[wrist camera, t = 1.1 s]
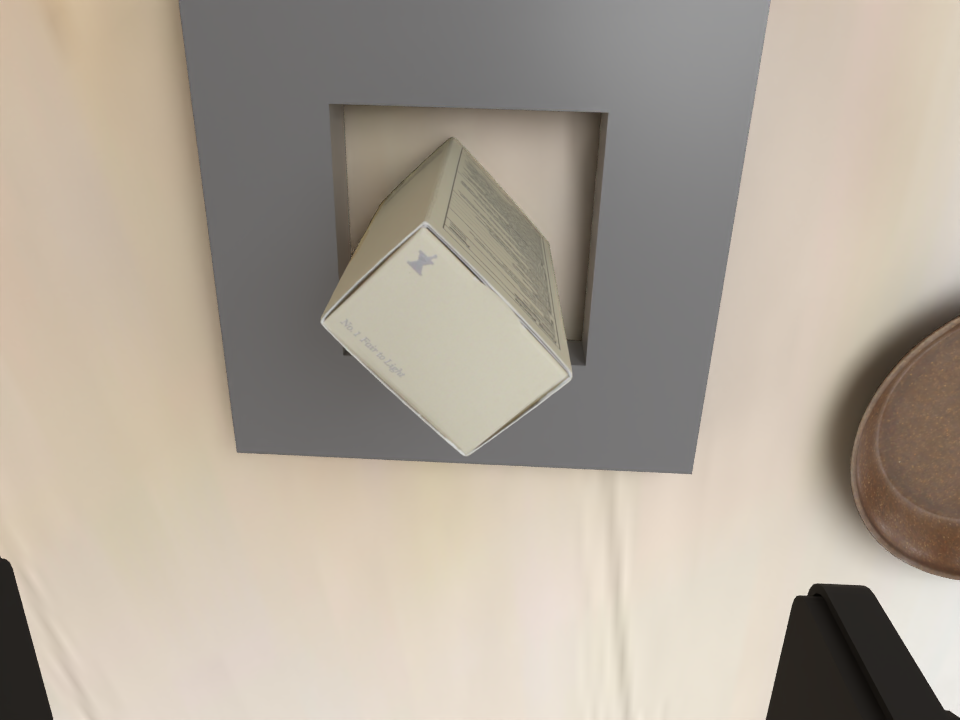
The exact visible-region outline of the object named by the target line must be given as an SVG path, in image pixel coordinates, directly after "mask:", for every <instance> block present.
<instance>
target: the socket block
mask: <svg viewBox="0 0 960 720" xmlns="http://www.w3.org/2000/svg"><path fill="white" fill-rule="evenodd" d="M770 1H771V0H179V8H180V15H181V23H182V31H183V39H184V46H185V54H186V62H187V70H188V77H189V85H190V93H191V101H192V108H193V116H194V124H195V132H196V139H197V147H198V155H199V163H200V170H201V178H202V186H203V194H204V201H205V209H206V217H207V225H208V232H209V240H210V248H211V255H212V263H213V271H214V279H215V286H216V294H217V302H218V310H219V317H220V325H221V333H222V341H223V348H224V356H225V364H226V372H227V379H228V387H229V395H230V403H231V410H232V418H233V426H234V434H235V441H236V449H237V453H257V454H278V455H299V456H320V457H341V458H362V459H384V460H405V461H426V462H447V463H468V464H489V465H510V466H531V467H552V468H574V469H595V470H616V471H637V472H658V473H679V474H692V470H693V464H694V458H695V452H696V446H697V439H698V433H699V427H700V421H701V415H702V409H703V403H704V397H705V391H706V385H707V379H708V373H709V367H710V361H711V355H712V349H713V343H714V337H715V331H716V325H717V319H718V313H719V307H720V301H721V295H722V289H723V283H724V277H725V271H726V265H727V259H728V253H729V247H730V241H731V235H732V229H733V223H734V217H735V211H736V205H737V199H738V193H739V187H740V181H741V175H742V169H743V163H744V157H745V151H746V145H747V139H748V133H749V127H750V121H751V115H752V109H753V103H754V97H755V91H756V85H757V79H758V73H759V67H760V61H761V55H762V49H763V43H764V37H765V31H766V25H767V19H768V13H769V7H770ZM344 104H353V105H384V106H416V107H447V108H479V109H510V110H542V111H573V112H601V124H600V135H599V147H598V158H597V170H596V181H595V193H594V204H593V216H592V227H591V239H590V250H589V262H588V273H587V285H586V296H585V308H584V319H583V331H582V341H575V340H567V346H568V351H569V357H570V362H571V367H572V379H571V380H570V381H569V382H568V383H567V384H566V385H564V386H563V387H562V388H561V389H559V390H558V391H557V392H555V393H554V394H552V395H551V396H550V397H549V398H547V399H546V400H545V401H543V402H542V403H541V404H540V405H538V406H537V407H536V408H534V409H533V410H531V411H530V412H529V413H527V414H526V415H524V416H523V417H522V418H520V419H519V420H518V421H517V422H515V423H514V424H512V425H511V426H510V427H508V428H507V429H505V430H504V431H502V432H501V433H500V434H498V435H497V436H496V437H494V438H493V439H492V440H490V441H489V442H487V443H486V444H484V445H483V446H482V447H480V448H479V449H478V450H476V451H475V452H473V453H472V454H470V455H469V456H463V455H461V454H460V453H459V452H458V451H457V450H456V449H454V448H453V447H452V446H451V445H450V444H448V443H447V442H446V441H445V440H444V439H443V438H442V437H441V436H440V435H438V434H437V433H436V432H435V431H434V430H433V429H432V428H431V427H430V426H428V425H427V424H426V423H425V422H424V421H423V420H422V419H421V418H419V417H418V416H417V415H416V414H415V413H414V412H413V411H412V410H411V409H409V408H408V407H407V406H406V405H405V404H404V403H403V402H402V401H401V400H400V399H399V398H398V397H396V396H395V395H394V394H393V393H392V392H391V391H390V390H388V389H387V388H386V387H385V386H384V385H383V384H382V383H381V382H380V381H379V380H378V379H377V378H376V377H375V376H374V375H372V374H371V373H370V372H369V371H368V370H367V369H366V368H365V367H364V366H363V365H362V364H361V363H360V362H359V361H358V360H357V359H356V358H354V357H353V356H352V355H351V354H350V353H349V352H348V351H347V350H346V349H345V348H344V347H343V346H342V345H341V344H340V343H339V342H338V341H337V340H336V339H335V338H334V337H333V336H332V335H331V334H330V333H329V332H328V331H327V330H326V329H325V328H324V327H323V325H322V324H321V322H320V321H321V316H322V314H323V312H324V310H325V308H326V306H327V304H328V303H329V301H330V299H331V296H332V294H333V292H334V290H335V289H336V287H337V285H338V283H339V281H340V279H341V277H342V275H343V273H344V271H345V269H346V267H347V265H348V264H349V262H350V260H351V245H350V225H349V205H348V185H347V164H346V144H345V124H344Z"/></svg>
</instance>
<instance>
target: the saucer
mask: <svg viewBox="0 0 960 720" xmlns="http://www.w3.org/2000/svg"><path fill="white" fill-rule="evenodd" d="M850 466H851V467H850V475H851V487H852V493H853V496H854V501H855V504H856V507H857V509H858V512H859V514H860V516H861V518H862V520H863V522H864V524H865V525H866V527H867V529H868V530H869V531H870V533H871V534H872V536H873V537H874V538H875V539H876V540H877V541H878V542H879V544H881V545H882V546H883V547H884V548H885V549H886V550H887V551H889V552H890V553H891V554H893V555H894V556H895V557H897V558H898V559H900V560H902V561H903V562H905V563H907V564H909V565H911V566H913V567H916V568H918V569H920V570H922V571H925V572H928V573H930V574H934V575H937V576H941V577H945V578H949V579H955V580H960V316H958V317H956V318H955V319H953V320H951V321H949V322H948V323H946V324H945V325H943V326H941V327H940V328H938V329H937V330H935V331H934V332H932V333H931V334H930V335H928V336H927V337H926V338H924V339H923V340H922V341H920V342H919V343H918V344H917V345H916V346H915V347H914V348H912V349H911V350H910V351H909V352H908V353H907V354H906V355H905V356H904V357H903V358H902V359H901V360H900V361H899V362H898V363H897V364H896V366H895V367H894V368H893V369H892V370H891V372H890V373H889V374H888V375H887V377H886V378H885V379H884V381H883V382H882V383H881V385H880V386H879V388H878V389H877V391H876V392H875V394H874V396H873V397H872V399H871V401H870V403H869V405H868V407H867V409H866V411H865V413H864V415H863V417H862V419H861V422H860V424H859V427H858V430H857V434H856V437H855V440H854V445H853V449H852V455H851V464H850Z"/></svg>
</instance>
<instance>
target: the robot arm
mask: <svg viewBox="0 0 960 720" xmlns="http://www.w3.org/2000/svg"><path fill="white" fill-rule="evenodd" d="M0 720H53V716H52V712H51V709H50V705H49V701H48V698H47V694H46V690H45V687H44V683H43V679H42V676H41V672H40V668H39V664H38V661H37V657H36V653H35V650H34V646H33V642H32V639H31V635H30V631H29V627H28V624H27V620H26V616H25V613H24V609H23V605H22V602H21V598H20V594H19V591H18V587H17V583H16V579H15V576H14V572H13V568H12V566H11V564H10V562H8V561H7V560H6V559H2V558H1V557H0ZM766 720H960V718H959V717H958V716H956V715H955V714H953V713H952V712H950V711H947V710H944V709H943V707H942V705H941V704H940V702H939V700H938V699H937V697H936V695H935V694H934V692H933V690H932V689H931V687H930V685H929V684H928V682H927V681H926V679H925V677H924V676H923V674H922V672H921V671H920V669H919V667H918V666H917V664H916V662H915V661H914V659H913V658H912V656H911V654H910V653H909V651H908V649H907V648H906V646H905V644H904V643H903V641H902V639H901V638H900V636H899V634H898V633H897V631H896V630H895V628H894V626H893V625H892V623H891V621H890V620H889V618H888V616H887V615H886V613H885V611H884V610H883V608H882V606H881V605H880V603H879V602H878V600H877V598H876V597H875V595H874V594H873V592H872V591H871V590H870V589H869V588H868V587H866V586H861V585H840V584H818V583H817V584H814V585H812V587H811V588H810V589H809V592H808V595H807V596H796V598H795V599H794V601H793V604H792V608H791V612H790V617H789V621H788V625H787V630H786V634H785V638H784V643H783V647H782V652H781V656H780V660H779V665H778V669H777V673H776V678H775V682H774V686H773V691H772V695H771V700H770V704H769V708H768V713H767V717H766Z"/></svg>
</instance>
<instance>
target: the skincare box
mask: <svg viewBox="0 0 960 720" xmlns="http://www.w3.org/2000/svg"><path fill="white" fill-rule="evenodd" d="M320 322H321V324H322V325H323V327H324V328H325V329H326V330H327V331H328V332H329V333H330V334H331V335H332V336H333V337H334V338H335V339H336V340H337V341H338V342H339V343H340V344H341V345H342V346H343V347H344V348H345V349H346V350H347V351H348V352H349V353H350V354H351V355H352V356H353V357H354V358H356V359H357V360H358V361H359V362H360V363H361V364H362V365H363V366H364V367H365V368H366V369H367V370H368V371H369V372H370V373H371V374H372V375H374V376H375V377H376V378H377V379H378V380H379V381H380V382H381V383H382V384H383V385H384V386H385V387H386V388H387V389H388V390H390V391H391V392H392V393H393V394H394V395H395V396H396V397H398V398H399V399H400V400H401V401H402V402H403V403H404V404H405V405H406V406H407V407H408V408H409V409H411V410H412V411H413V412H414V413H415V414H416V415H417V416H418V417H419V418H421V419H422V420H423V421H424V422H425V423H426V424H427V425H428V426H430V427H431V428H432V429H433V430H434V431H435V432H436V433H437V434H438V435H440V436H441V437H442V438H443V439H444V440H445V441H446V442H447V443H448V444H450V445H451V446H452V447H453V448H454V449H456V450H457V451H458V452H459V453H460V454H461V455H463V456H469V455H470V454H472V453H473V452H475V451H476V450H478V449H479V448H480V447H482V446H483V445H484V444H486V443H487V442H489V441H490V440H492V439H493V438H494V437H496V436H497V435H498V434H500V433H501V432H502V431H504V430H505V429H507V428H508V427H510V426H511V425H512V424H514V423H515V422H517V421H518V420H519V419H520V418H522V417H523V416H524V415H526V414H527V413H529V412H530V411H531V410H533V409H534V408H536V407H537V406H538V405H540V404H541V403H542V402H543V401H545V400H546V399H547V398H549V397H550V396H551V395H552V394H554V393H555V392H557V391H558V390H559V389H561V388H562V387H563V386H564V385H566V384H567V383H568V382H569V381H570V380H571V379H572V367H571V362H570V357H569V351H568V346H567V340H566V335H565V329H564V324H563V318H562V312H561V307H560V302H559V296H558V291H557V285H556V279H555V274H554V268H553V263H552V257H551V252H550V245H549V243H548V241H547V240H546V239H545V238H544V236H543V235H542V234H541V233H540V232H539V231H538V229H537V228H536V227H535V226H534V225H533V223H532V222H531V221H530V220H529V219H528V218H527V216H526V215H525V214H524V213H523V212H522V211H521V210H520V208H519V207H518V206H517V205H516V204H515V203H514V202H513V200H512V199H511V198H510V197H509V196H508V195H507V194H506V193H505V191H504V190H503V189H502V188H501V187H500V186H499V185H498V184H497V183H496V181H495V180H494V179H493V178H492V177H491V176H490V175H489V174H488V172H487V171H486V170H485V169H484V168H483V167H482V166H481V165H480V164H479V163H478V162H477V160H476V159H475V158H474V157H473V156H472V155H471V154H470V153H469V152H468V151H467V150H466V149H465V148H464V147H463V146H462V144H461V143H460V142H459V141H458V140H457V139H456V138H453V137H452V138H450V139H448V140H447V141H446V142H445V143H444V144H443V145H442V146H441V147H440V148H438V149H437V150H436V151H435V152H434V153H433V154H432V155H431V156H430V157H428V158H427V159H426V160H425V161H424V162H423V163H422V164H421V165H420V166H419V167H418V168H417V169H416V170H415V171H413V172H412V173H411V174H410V175H409V176H408V177H407V178H406V179H405V180H404V181H403V182H402V183H401V184H400V185H399V186H398V187H397V188H396V189H395V190H394V191H393V192H392V193H391V194H390V195H389V196H388V197H387V198H386V199H385V200H384V201H383V202H382V203H381V204H380V206H379V208H378V210H377V212H376V213H375V215H374V217H373V219H372V221H371V223H370V225H369V227H368V228H367V230H366V232H365V234H364V236H363V237H362V239H361V241H360V243H359V245H358V247H357V248H356V251H355V252H354V254H353V256H352V258H351V260H350V262H349V264H348V265H347V267H346V269H345V271H344V273H343V275H342V277H341V279H340V281H339V283H338V285H337V287H336V289H335V290H334V292H333V294H332V296H331V299H330V301H329V303H328V304H327V306H326V308H325V310H324V312H323V314H322V316H321V321H320Z"/></svg>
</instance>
